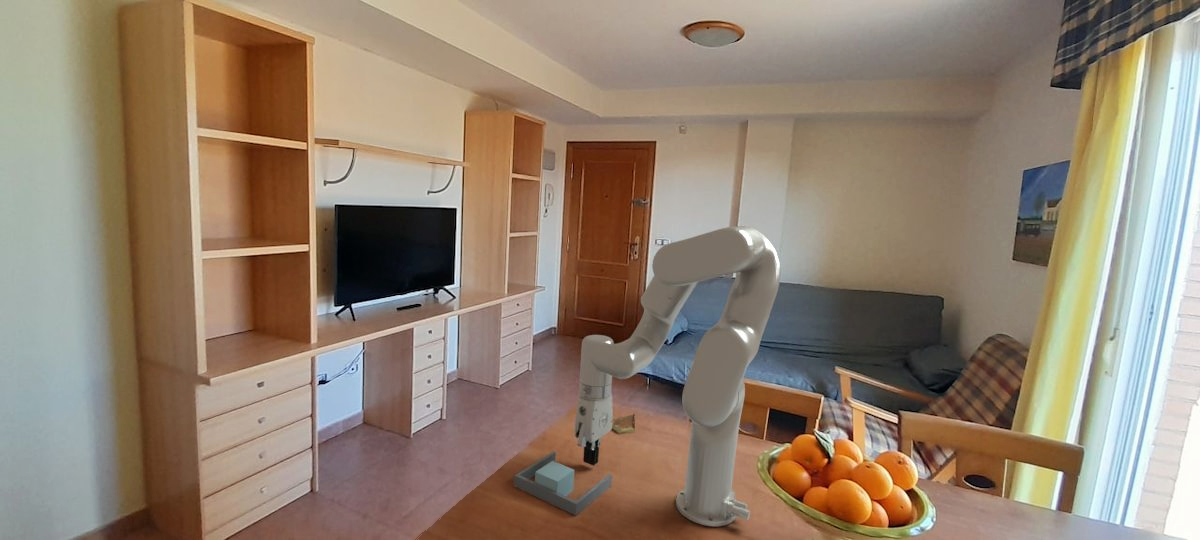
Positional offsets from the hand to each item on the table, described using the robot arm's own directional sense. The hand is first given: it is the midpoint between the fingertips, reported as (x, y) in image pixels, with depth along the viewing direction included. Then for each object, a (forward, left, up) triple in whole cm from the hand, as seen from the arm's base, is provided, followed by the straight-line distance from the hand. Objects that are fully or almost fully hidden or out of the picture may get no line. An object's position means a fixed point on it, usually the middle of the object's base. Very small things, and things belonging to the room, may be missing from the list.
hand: (590, 462), depth 120 cm
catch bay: (0, +10, -1) cm, 10 cm away
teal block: (+1, +13, -2) cm, 14 cm away
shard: (+6, -25, -2) cm, 26 cm away
